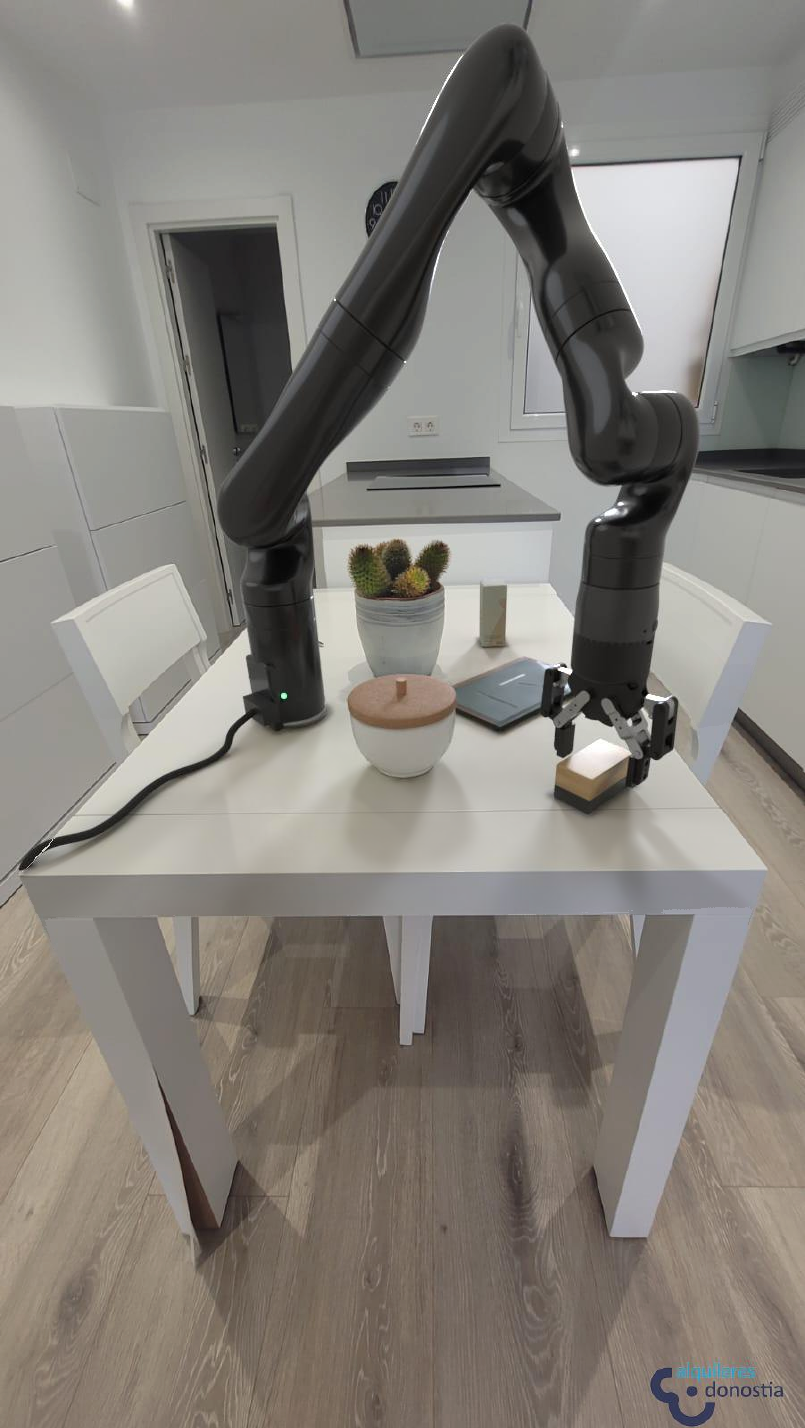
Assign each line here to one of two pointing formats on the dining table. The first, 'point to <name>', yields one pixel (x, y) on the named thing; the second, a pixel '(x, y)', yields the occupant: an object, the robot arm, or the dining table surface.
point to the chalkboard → (504, 694)
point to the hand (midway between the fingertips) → (597, 769)
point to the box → (493, 612)
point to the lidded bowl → (403, 722)
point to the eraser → (592, 775)
